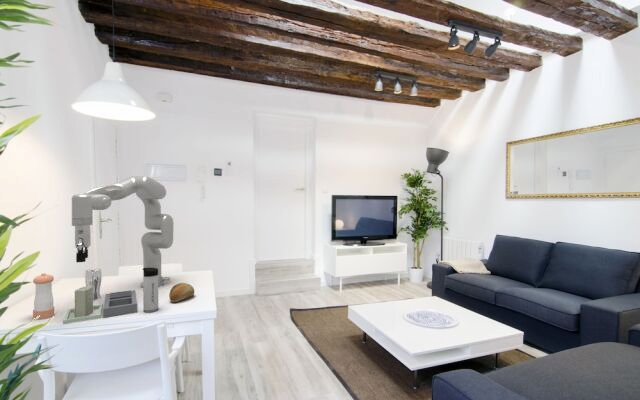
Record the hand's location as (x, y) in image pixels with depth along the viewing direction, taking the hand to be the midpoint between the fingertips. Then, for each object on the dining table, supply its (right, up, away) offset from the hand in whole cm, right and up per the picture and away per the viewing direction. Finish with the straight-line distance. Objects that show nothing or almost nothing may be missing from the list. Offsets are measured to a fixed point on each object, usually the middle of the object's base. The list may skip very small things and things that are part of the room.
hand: (82, 260), depth 145 cm
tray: (+1, -25, 0) cm, 25 cm away
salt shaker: (-16, -25, -2) cm, 29 cm away
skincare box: (+1, -25, 0) cm, 25 cm away
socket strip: (+11, -25, +11) cm, 29 cm away
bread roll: (+35, -25, +23) cm, 49 cm away
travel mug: (+27, -25, +7) cm, 38 cm away
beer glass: (-10, -24, +21) cm, 34 cm away
